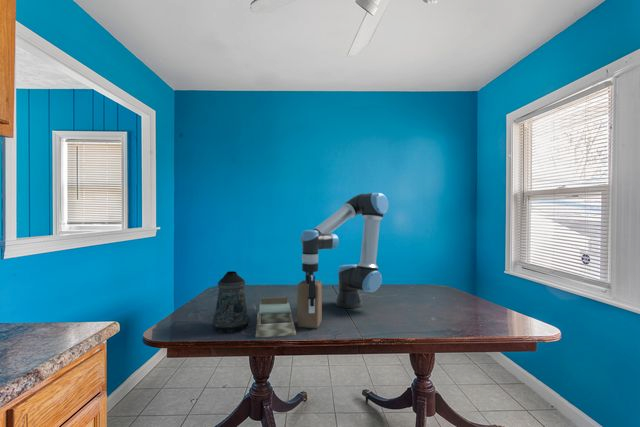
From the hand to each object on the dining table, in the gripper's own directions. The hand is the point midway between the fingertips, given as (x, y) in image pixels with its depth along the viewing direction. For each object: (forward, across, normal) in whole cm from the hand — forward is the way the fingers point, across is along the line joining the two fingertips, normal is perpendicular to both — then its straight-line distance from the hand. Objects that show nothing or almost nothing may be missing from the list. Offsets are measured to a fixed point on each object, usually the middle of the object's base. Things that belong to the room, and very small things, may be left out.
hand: (309, 308), depth 146 cm
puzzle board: (+7, -4, -16) cm, 18 cm away
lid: (+2, -10, -16) cm, 19 cm away
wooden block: (+8, 0, 0) cm, 8 cm away
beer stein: (+8, -3, -37) cm, 38 cm away
